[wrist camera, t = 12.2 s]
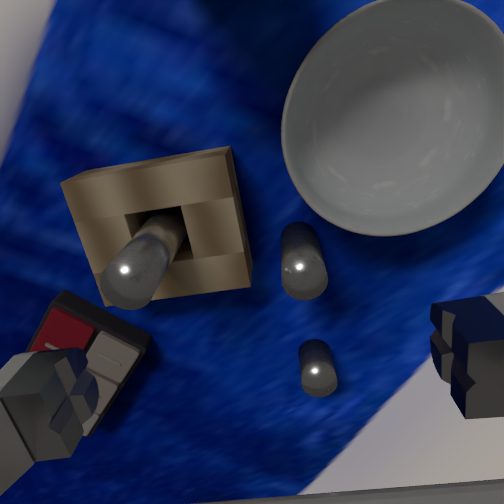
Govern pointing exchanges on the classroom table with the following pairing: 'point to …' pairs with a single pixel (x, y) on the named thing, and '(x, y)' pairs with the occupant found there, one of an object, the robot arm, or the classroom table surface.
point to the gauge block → (163, 196)
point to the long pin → (144, 260)
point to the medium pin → (302, 262)
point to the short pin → (317, 368)
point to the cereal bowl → (397, 116)
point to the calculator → (93, 345)
